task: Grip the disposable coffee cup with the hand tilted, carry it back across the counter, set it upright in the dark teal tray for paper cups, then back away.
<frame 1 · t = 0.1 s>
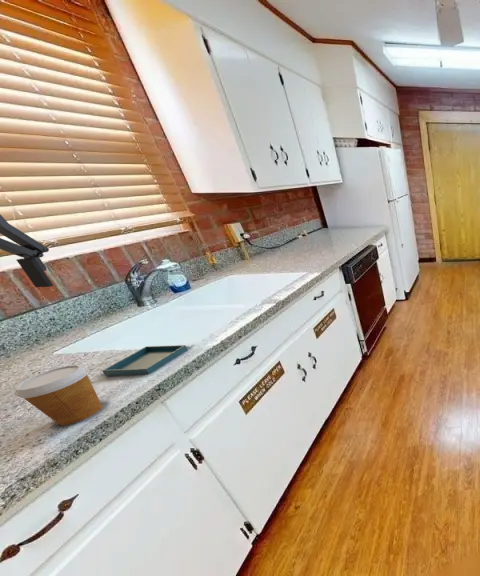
disposable coffee cup: (82, 416, 71), on the countertop
cup tray: (149, 362, 90), on the countertop
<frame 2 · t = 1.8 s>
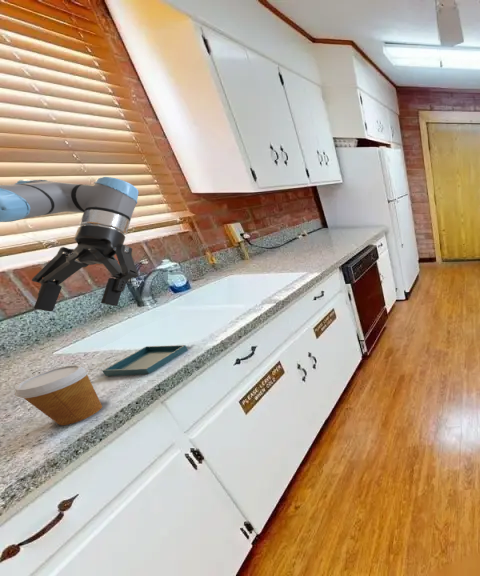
hand: (76, 307, 72), 24 cm above the countertop, tool tilted 45°, fingers open, 13 cm apart
nothing on the countertop moved.
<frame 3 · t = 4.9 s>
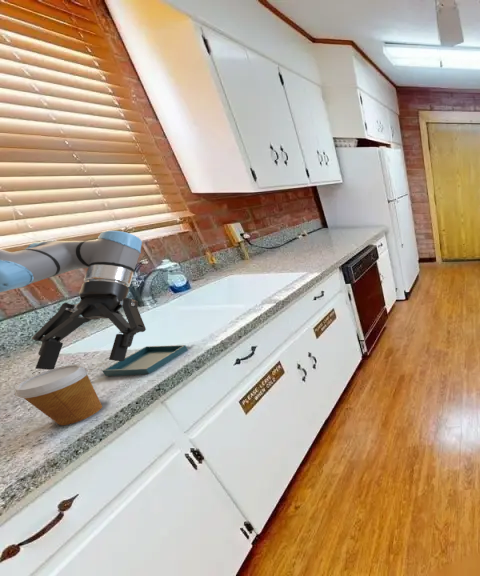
hand: (81, 364, 72), 11 cm above the countertop, tool tilted 45°, fingers open, 13 cm apart
nothing on the countertop moved.
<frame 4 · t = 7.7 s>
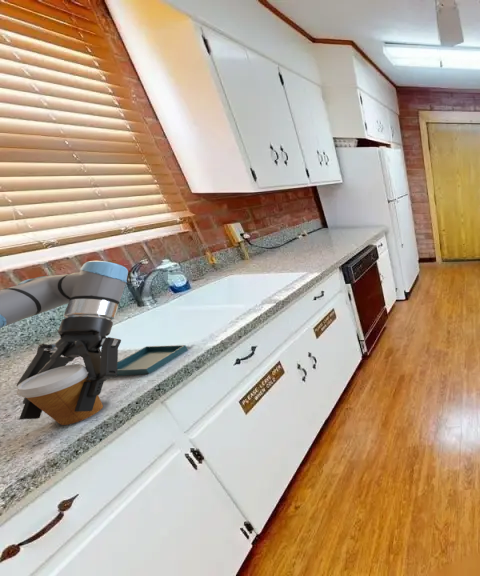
hand: (56, 414, 67), 4 cm above the countertop, tool tilted 45°, fingers closed on disposable coffee cup, 9 cm apart
disposable coffee cup: (83, 415, 71), on the countertop, touching gripper
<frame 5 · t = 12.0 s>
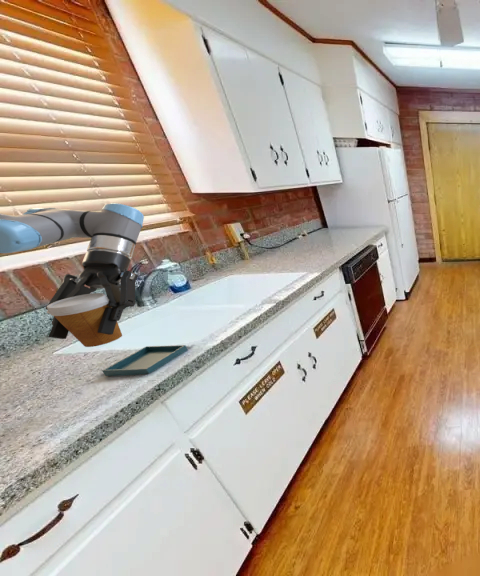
hand: (81, 335, 73), 17 cm above the countertop, tool tilted 45°, fingers closed on disposable coffee cup, 9 cm apart
disposable coffee cup: (104, 341, 78), point 13 cm above the countertop, touching gripper
when the fingers open (4 cm above the countertop, at t = 16.8 s): disposable coffee cup stays where it is, resting on cup tray.
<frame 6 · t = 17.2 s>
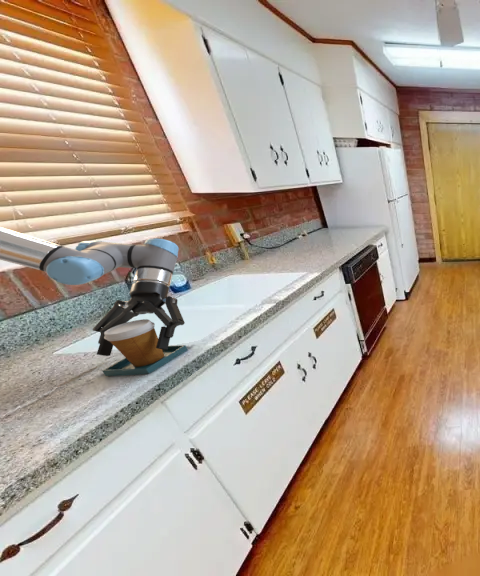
hand: (133, 352, 85), 6 cm above the countertop, tool tilted 45°, fingers open, 13 cm apart
disposable coffee cup: (149, 360, 90), resting on cup tray
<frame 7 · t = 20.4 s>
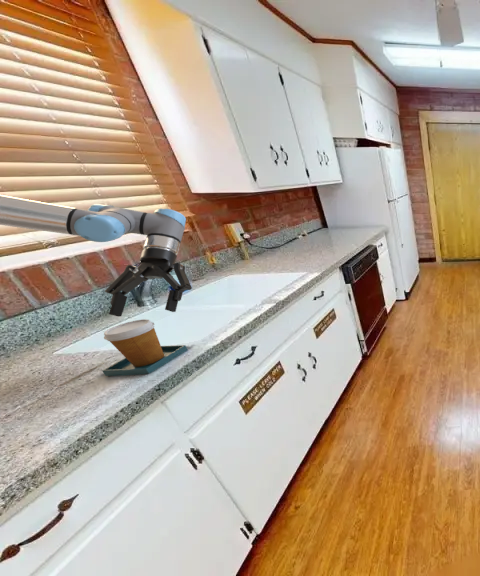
hand: (143, 313, 90), 14 cm above the countertop, tool tilted 45°, fingers open, 13 cm apart
nothing on the countertop moved.
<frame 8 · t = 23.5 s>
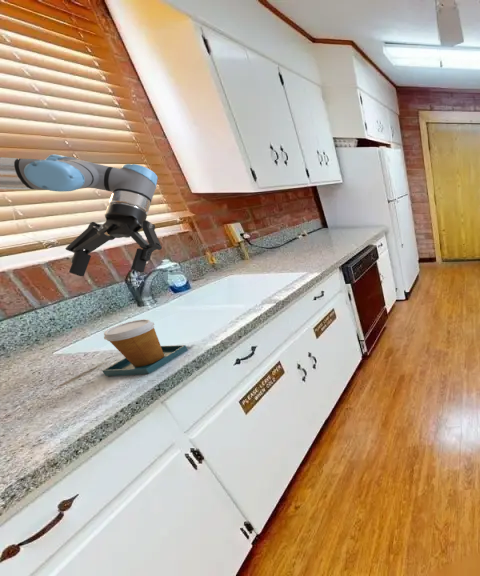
hand: (107, 272, 83), 28 cm above the countertop, tool tilted 45°, fingers open, 13 cm apart
nothing on the countertop moved.
at the end: disposable coffee cup 0.2 cm off-centre in the cup tray, point 0.5 cm above the cup tray's base; disposable coffee cup tilted 3°; the gripper is holding nothing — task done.
